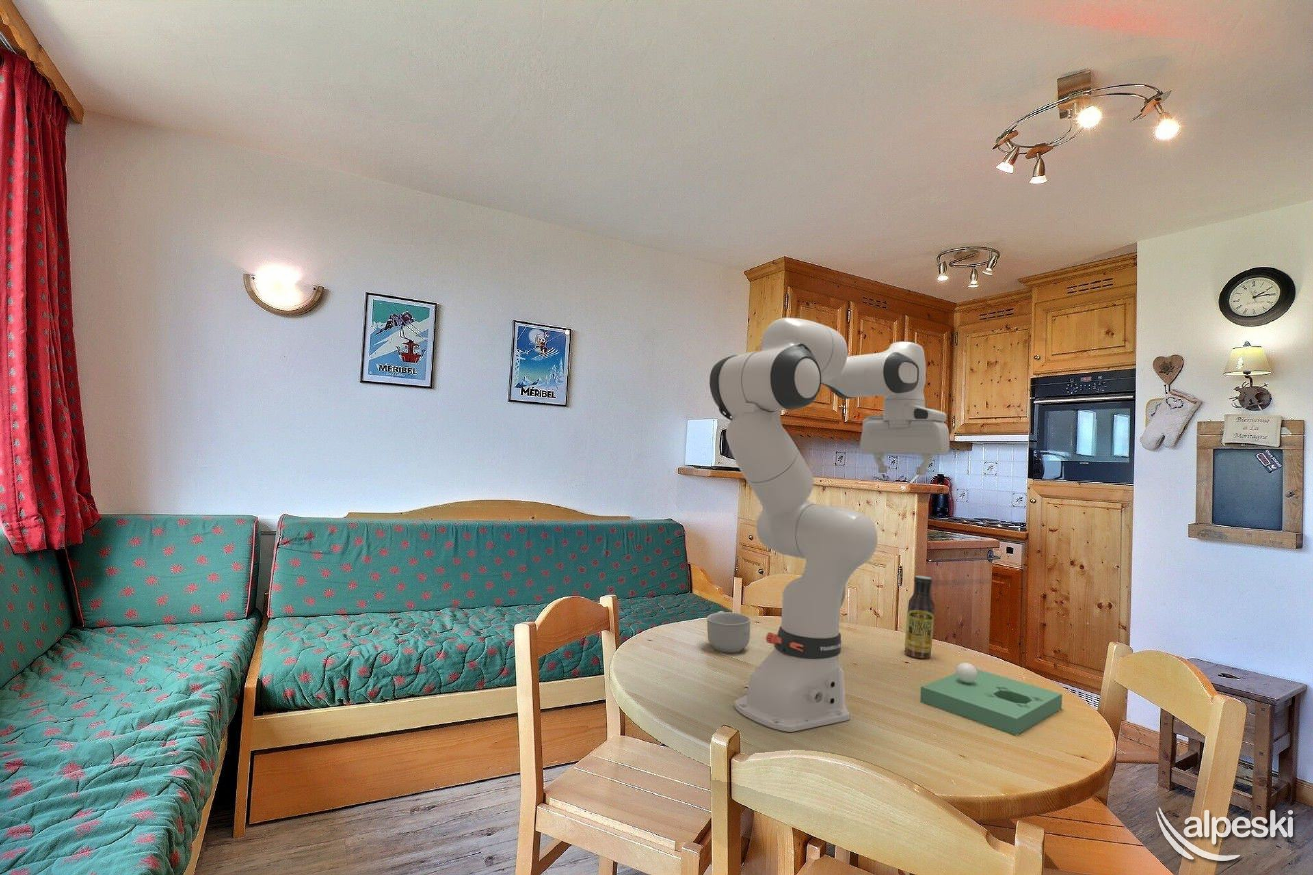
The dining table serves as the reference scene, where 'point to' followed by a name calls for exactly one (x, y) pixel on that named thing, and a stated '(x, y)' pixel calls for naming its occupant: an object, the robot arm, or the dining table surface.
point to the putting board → (993, 701)
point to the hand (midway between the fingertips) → (901, 474)
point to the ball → (966, 672)
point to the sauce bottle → (920, 620)
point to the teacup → (728, 631)
